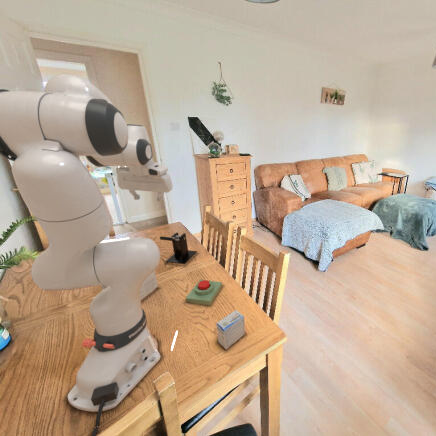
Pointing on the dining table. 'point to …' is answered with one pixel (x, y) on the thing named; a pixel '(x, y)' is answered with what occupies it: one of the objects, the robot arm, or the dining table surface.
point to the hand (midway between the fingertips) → (148, 200)
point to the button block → (204, 293)
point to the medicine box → (230, 329)
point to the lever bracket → (180, 250)
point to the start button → (204, 285)
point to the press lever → (170, 238)
